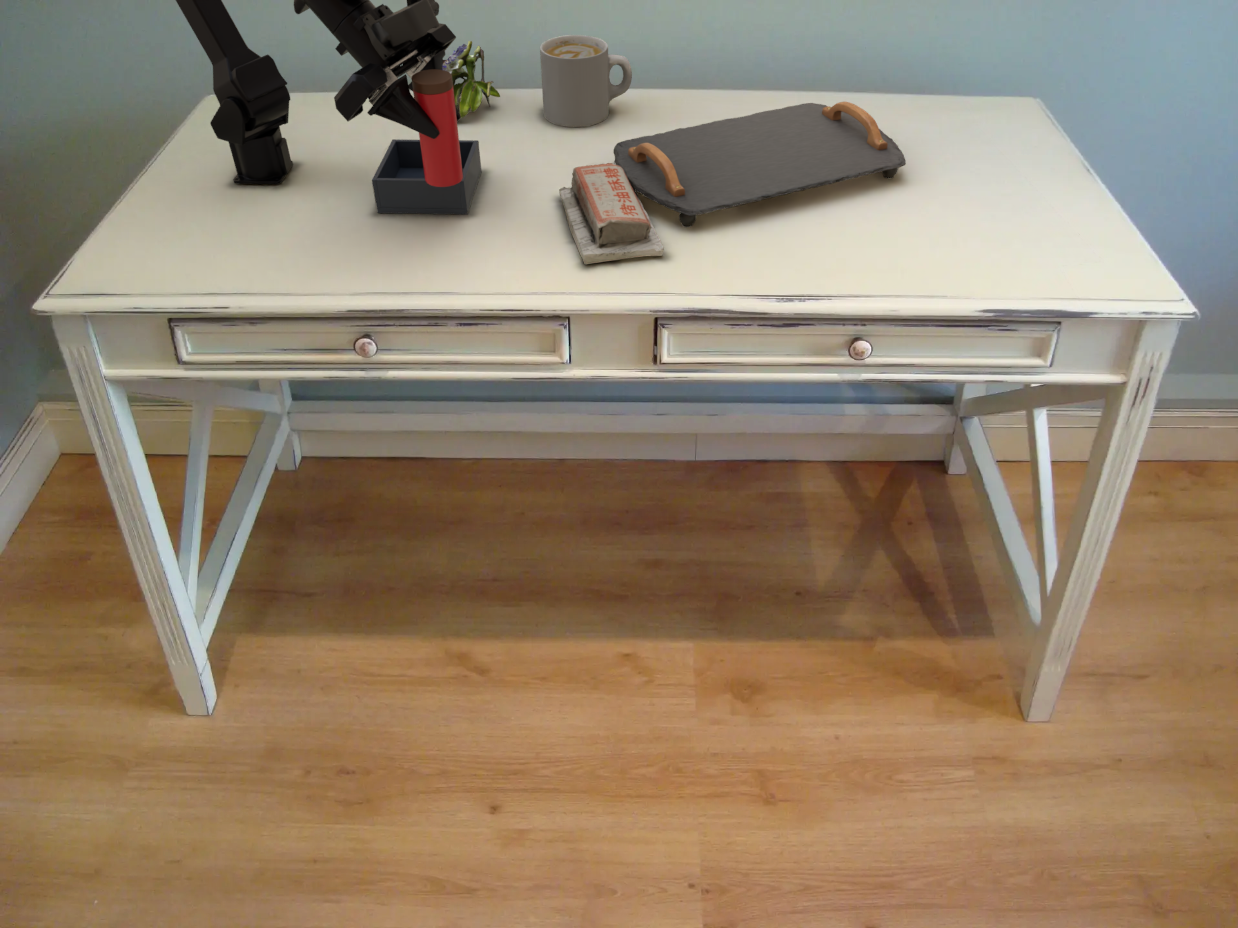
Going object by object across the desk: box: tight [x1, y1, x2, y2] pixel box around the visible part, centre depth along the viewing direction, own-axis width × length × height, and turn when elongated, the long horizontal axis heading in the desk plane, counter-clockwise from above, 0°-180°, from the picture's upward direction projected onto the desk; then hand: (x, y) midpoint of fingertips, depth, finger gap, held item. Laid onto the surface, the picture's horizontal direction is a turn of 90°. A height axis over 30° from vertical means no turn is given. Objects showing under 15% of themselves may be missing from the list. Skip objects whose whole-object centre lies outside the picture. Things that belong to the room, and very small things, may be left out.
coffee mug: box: [539, 34, 633, 128], centre depth 152 cm, size 13×10×10 cm
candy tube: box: [411, 69, 463, 187], centre depth 121 cm, size 5×5×12 cm
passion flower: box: [442, 40, 501, 119], centre depth 155 cm, size 11×11×12 cm
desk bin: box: [371, 138, 482, 215], centre depth 135 cm, size 12×12×5 cm
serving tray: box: [613, 101, 907, 228], centre depth 138 cm, size 39×23×6 cm, turn 115°
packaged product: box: [558, 162, 665, 265], centre depth 127 cm, size 18×5×10 cm
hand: (447, 128), depth 120 cm, fingers closed on candy tube, 4 cm apart
